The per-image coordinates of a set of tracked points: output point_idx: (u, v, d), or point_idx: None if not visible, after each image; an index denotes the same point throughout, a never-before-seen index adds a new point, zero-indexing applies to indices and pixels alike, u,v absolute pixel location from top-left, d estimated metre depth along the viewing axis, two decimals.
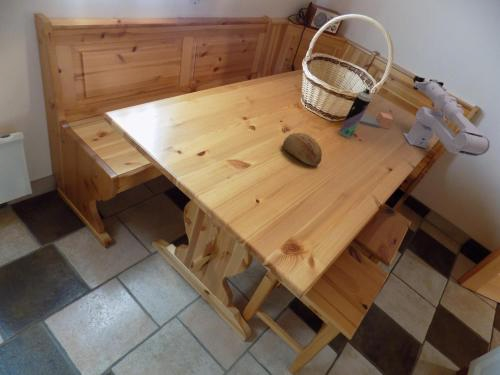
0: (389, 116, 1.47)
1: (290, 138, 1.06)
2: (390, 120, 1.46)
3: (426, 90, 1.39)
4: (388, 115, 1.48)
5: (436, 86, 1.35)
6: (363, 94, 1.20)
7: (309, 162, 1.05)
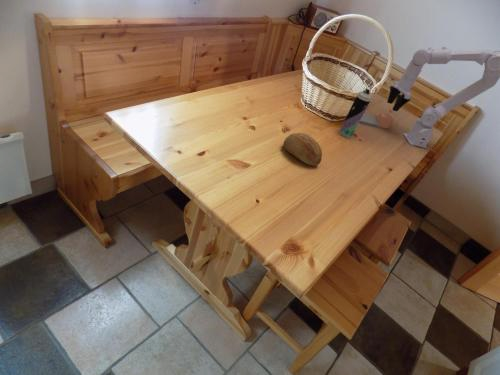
0: (389, 116, 1.47)
1: (290, 138, 1.06)
2: (390, 120, 1.46)
3: (409, 86, 1.35)
4: (388, 115, 1.48)
5: (404, 78, 1.34)
6: (363, 94, 1.20)
7: (309, 161, 1.05)
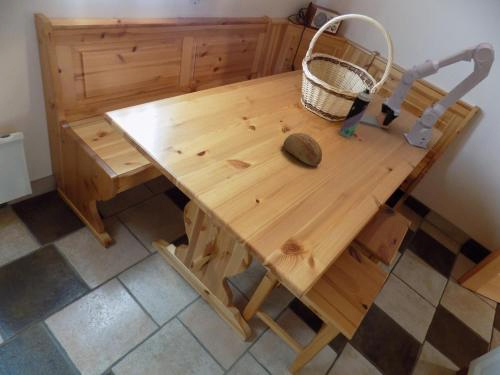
0: None
1: (290, 138, 1.06)
2: None
3: (399, 103, 1.40)
4: None
5: (393, 95, 1.39)
6: (363, 94, 1.20)
7: (309, 162, 1.05)
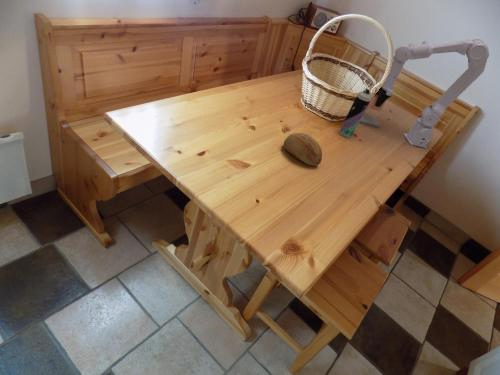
0: None
1: (290, 138, 1.06)
2: None
3: (391, 83, 1.35)
4: None
5: None
6: (363, 94, 1.20)
7: (309, 161, 1.05)
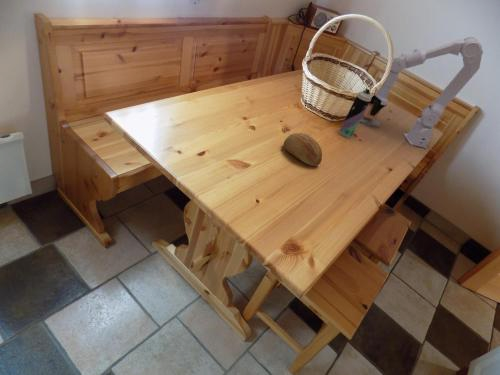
0: None
1: (290, 138, 1.06)
2: None
3: (386, 92, 1.38)
4: None
5: None
6: (363, 94, 1.20)
7: (309, 162, 1.05)
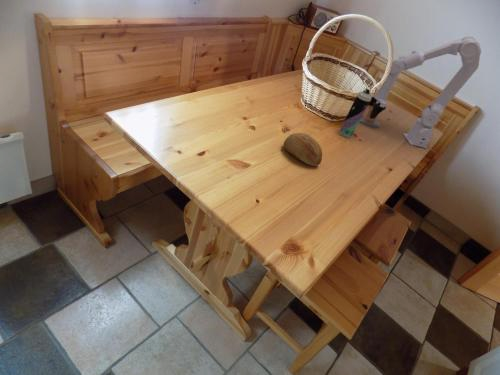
0: None
1: (291, 138, 1.06)
2: None
3: (385, 94, 1.39)
4: None
5: None
6: (363, 94, 1.20)
7: (309, 162, 1.05)
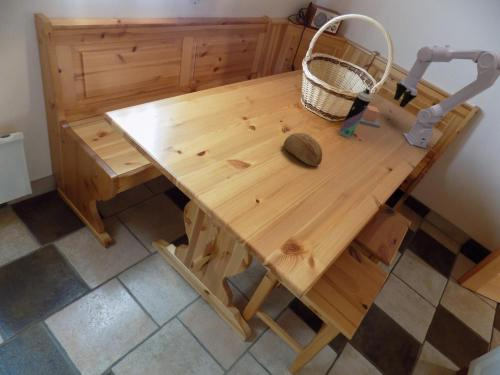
0: (375, 109, 1.46)
1: (291, 138, 1.06)
2: (376, 113, 1.44)
3: (415, 83, 1.40)
4: (374, 108, 1.47)
5: (410, 75, 1.39)
6: (363, 94, 1.20)
7: (309, 162, 1.05)
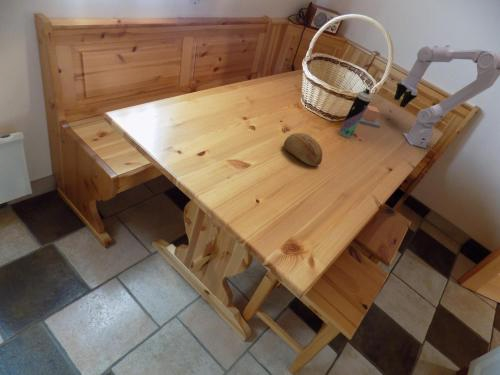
0: (375, 109, 1.46)
1: (291, 138, 1.06)
2: (376, 113, 1.44)
3: (416, 83, 1.40)
4: (374, 108, 1.47)
5: (410, 75, 1.39)
6: (363, 94, 1.20)
7: (309, 162, 1.05)
